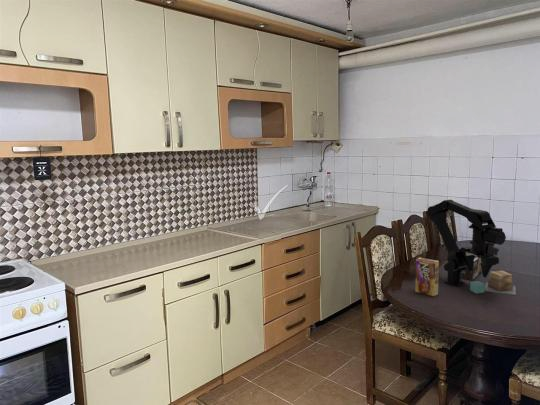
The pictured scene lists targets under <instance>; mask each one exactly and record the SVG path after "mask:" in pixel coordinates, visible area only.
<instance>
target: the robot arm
mask: <svg viewBox="0 0 540 405" xmlns="http://www.w3.org/2000/svg"><path fill="white" fill-rule="evenodd" d="M449 211H451V212H453V213H455V214H457V215H460V216H462V217H464V218H466V220H467V221H468V222H469V223H471V224H470V225H469V226H468V229H472V236H471V237H472V239H471V240H470V241H469V244H470V245H471V246H462V247H461V248H459V246H458V244H457V241H456V239H455V237H454V235H453V232H452V230H451V228H450V226H449V224H448V221H447V218H448V214H447V213H448V212H449ZM490 214H491V213H490V212H489V211H487V210H483V209H476V208H471V207H469V206H466V205H464V204H461V203H459V202H457V201H455V200H453V199H444V200H442V201H441V202H438V203H437V204H434V205H432V206H431V205H430V206H429V207H427V210H426V215H427V216H428V218H429V220H430V221H431V222H432V223H434V224H435V226H436V227H437V230H438V232H439V235H440V236H441V239H442V241H443V244H444V246H445V248H446V251H447V262H446V263H445V264H444V265H443V269H444V271H445V272H447V276H446V277H447V278H446V280H444V283H447V284H450V285H452V286H456V287H457V286H459V285H463V284H466V282H465V281H463V278H462V270H466V267H467V266H468V268H469V270H470V271H472V270H473V263H474V258H475V257H479V258H481V262H482V263H480V264H481V269H482V272H481V273H482V274H481V275H482V277H483V278H487V276H488V274H489V273H490V270H491V268H492V267H493V266H496V265H500V258H499V257H498V256H497V255H498V253H499V251H500V249H499V248H498V247H495V246H494V247H492V246H490V244H489V243H488V242H490V243H494V245H499V246H501V245H503V244H504V243H505V242H506V239H507V236H506V234H505V232H504V231H503V230H504V229H503V228H501V227H497V226H496V224H495V222H494V220H493V219H492V217H491V215H490ZM490 253H491V254H494V256H493V255H489V254H490ZM486 254H487V255H486Z"/></svg>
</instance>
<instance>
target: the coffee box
mask: <svg viewBox="0 0 540 405" xmlns="http://www.w3.org/2000/svg"><path fill="white" fill-rule="evenodd" d="M480 263H482V262H481V258H479V257H475V258H474V263H473V270H472V271H470V270H469V268H468V266H467V267H466V270H462V279H465V280H470V281H474V279H475V278H476V277H478V276H479V275H480V274H481V273H482V269H481V264H480Z"/></svg>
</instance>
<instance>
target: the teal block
mask: <svg viewBox="0 0 540 405" xmlns="http://www.w3.org/2000/svg"><path fill="white" fill-rule="evenodd" d="M469 283H470V285H469V286H470V288H469V290H470V291H471V292H473V293H474V294H483V293H485V291H484V290H485V284H486V283H483V282H481V281H478V280H475V281H470V282H469Z"/></svg>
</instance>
